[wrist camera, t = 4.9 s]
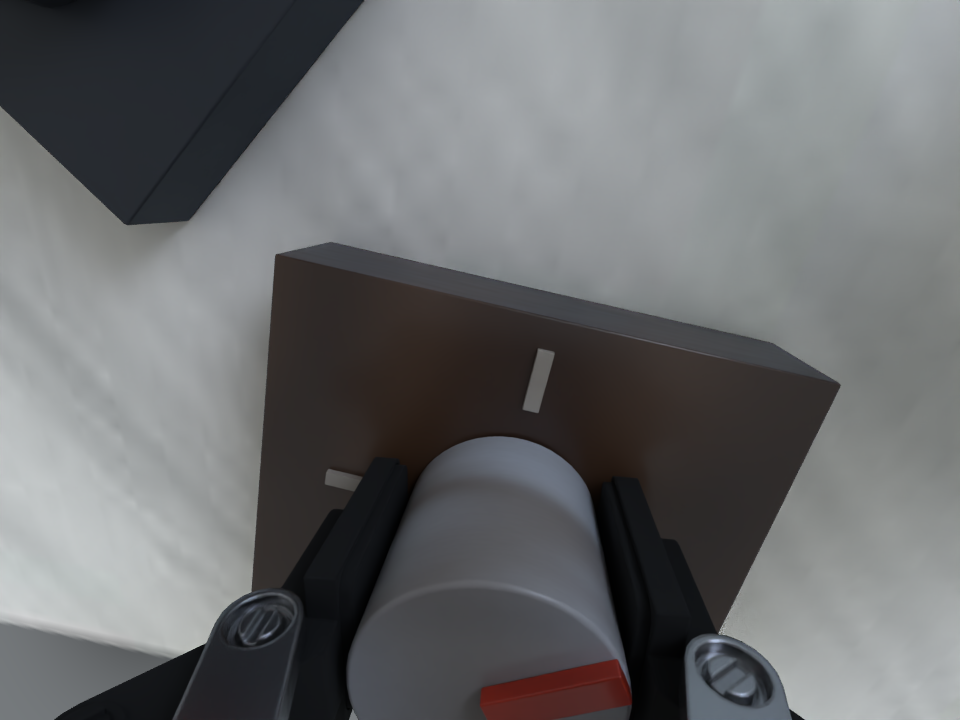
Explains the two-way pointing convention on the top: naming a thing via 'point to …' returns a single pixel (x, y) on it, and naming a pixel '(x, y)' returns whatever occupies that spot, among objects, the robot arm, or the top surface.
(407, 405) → the dial panel
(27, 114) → the button block
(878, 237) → the top surface
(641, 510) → the robot arm
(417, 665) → the dial
